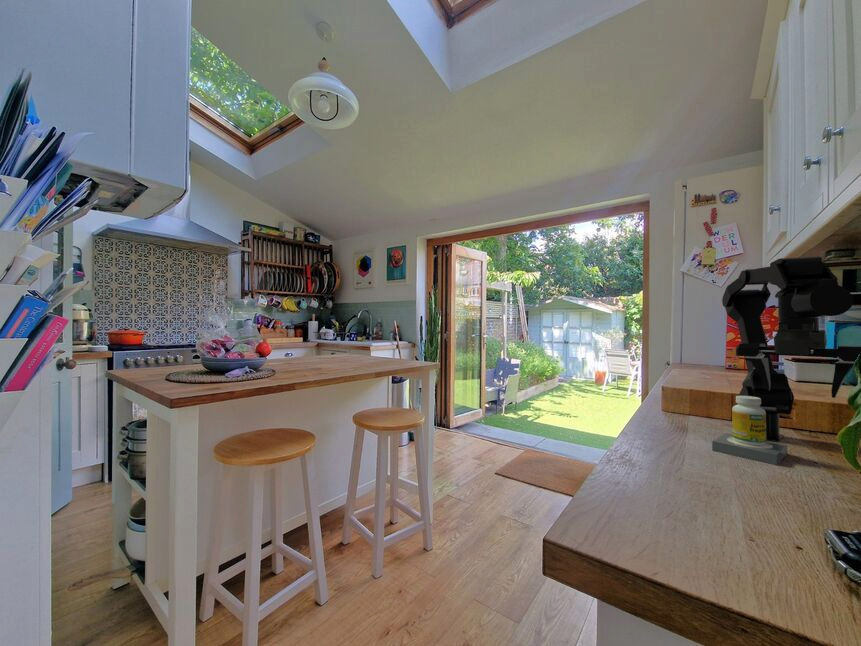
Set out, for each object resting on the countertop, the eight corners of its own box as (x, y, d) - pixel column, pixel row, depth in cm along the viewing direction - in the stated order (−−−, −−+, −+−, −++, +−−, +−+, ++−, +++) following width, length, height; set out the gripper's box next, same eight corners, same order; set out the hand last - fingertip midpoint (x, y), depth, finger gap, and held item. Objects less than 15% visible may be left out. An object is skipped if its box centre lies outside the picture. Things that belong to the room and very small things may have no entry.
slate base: (726, 441, 81) (726, 432, 81) (787, 454, 73) (787, 444, 73) (712, 450, 75) (712, 440, 75) (776, 465, 67) (776, 454, 67)
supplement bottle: (747, 438, 77) (746, 394, 77) (774, 445, 72) (773, 399, 72) (725, 438, 76) (725, 395, 76) (751, 447, 71) (750, 399, 71)
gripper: (727, 318, 74) (728, 391, 74) (868, 315, 59) (869, 407, 59) (742, 319, 81) (743, 386, 80) (872, 317, 66) (874, 399, 65)
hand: (799, 394), depth 71 cm, fingers open, 9 cm apart
